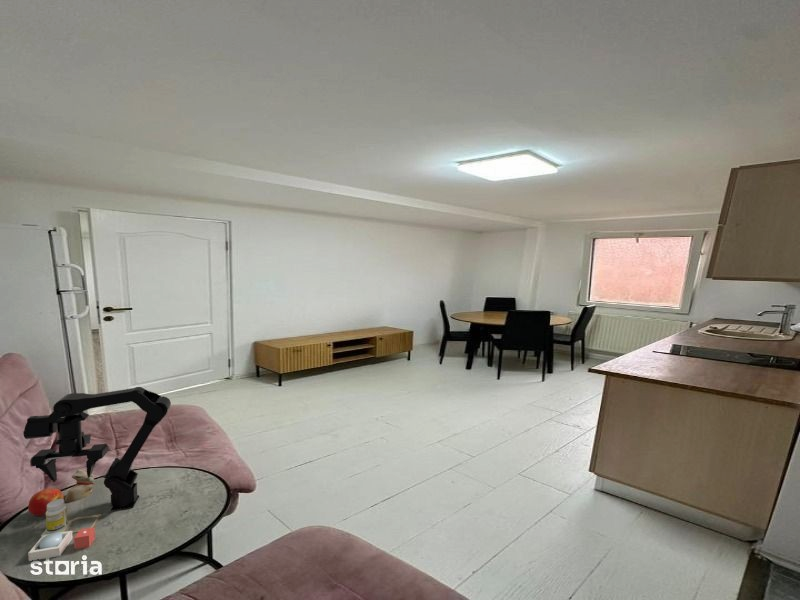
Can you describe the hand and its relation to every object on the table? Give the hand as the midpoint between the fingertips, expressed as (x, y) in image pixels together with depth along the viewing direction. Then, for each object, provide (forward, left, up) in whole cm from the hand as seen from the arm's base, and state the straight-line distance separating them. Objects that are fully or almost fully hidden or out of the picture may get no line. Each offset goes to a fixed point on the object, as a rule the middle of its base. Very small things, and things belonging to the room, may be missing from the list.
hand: (72, 478), depth 122 cm
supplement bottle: (+1, +7, -12) cm, 14 cm away
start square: (-5, +7, -12) cm, 15 cm away
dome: (-2, +17, -12) cm, 20 cm away
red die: (-10, +16, -12) cm, 23 cm away
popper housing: (-2, +16, -12) cm, 20 cm away
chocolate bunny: (+2, -10, -12) cm, 16 cm away
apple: (+8, -2, -12) cm, 15 cm away
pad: (+1, +7, -12) cm, 14 cm away
